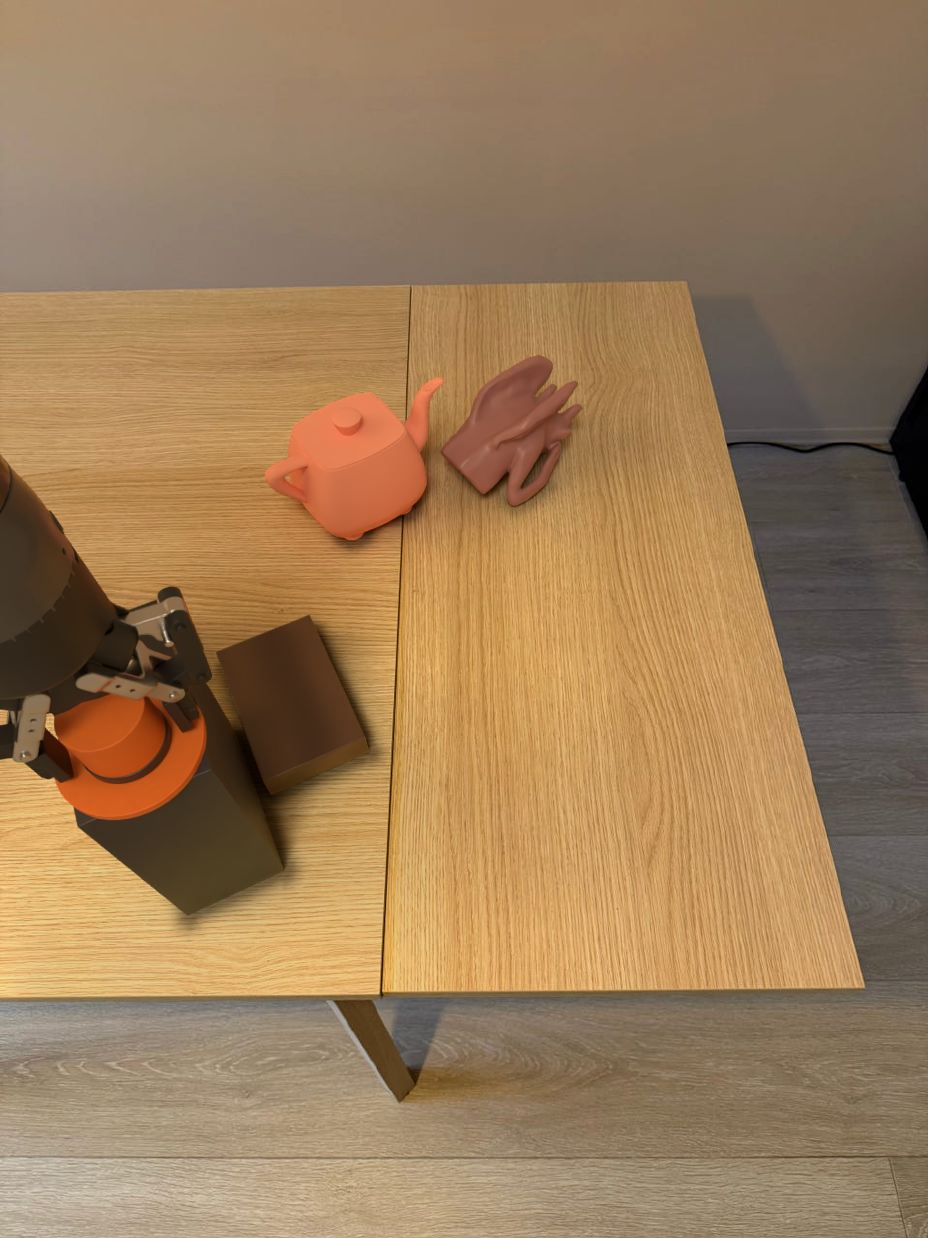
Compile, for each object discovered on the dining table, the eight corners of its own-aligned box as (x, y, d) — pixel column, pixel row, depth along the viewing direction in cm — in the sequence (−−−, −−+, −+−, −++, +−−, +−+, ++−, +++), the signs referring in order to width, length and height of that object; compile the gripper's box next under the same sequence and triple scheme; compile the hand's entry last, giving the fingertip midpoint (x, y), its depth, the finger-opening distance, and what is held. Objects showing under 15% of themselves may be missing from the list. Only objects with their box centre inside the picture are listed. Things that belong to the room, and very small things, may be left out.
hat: (71, 846, 46) (29, 815, 42) (45, 719, 51) (5, 679, 47) (224, 780, 48) (198, 743, 44) (185, 663, 53) (159, 620, 49)
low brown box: (271, 796, 69) (262, 782, 66) (224, 668, 76) (215, 651, 73) (369, 752, 71) (365, 737, 68) (315, 631, 78) (309, 614, 75)
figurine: (520, 531, 89) (618, 430, 87) (484, 496, 80) (592, 382, 78) (455, 468, 95) (546, 372, 93) (414, 428, 86) (514, 321, 84)
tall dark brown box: (183, 917, 63) (72, 829, 47) (142, 767, 70) (34, 645, 54) (284, 870, 65) (211, 769, 48) (234, 729, 72) (156, 598, 56)
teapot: (313, 578, 81) (287, 495, 71) (260, 505, 87) (230, 420, 77) (477, 491, 87) (475, 404, 77) (418, 428, 93) (409, 340, 83)
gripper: (-200, 712, 31) (13, 850, 45) (166, 576, 34) (260, 744, 48) (-202, 573, 35) (-5, 740, 49) (127, 462, 38) (225, 649, 52)
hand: (126, 742), depth 49 cm, fingers open, 6 cm apart
